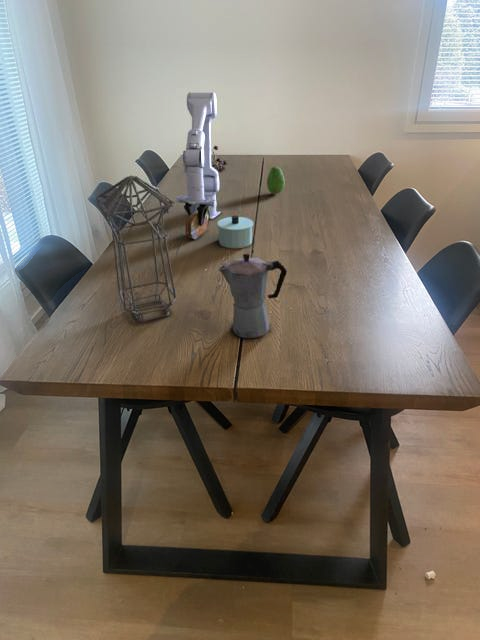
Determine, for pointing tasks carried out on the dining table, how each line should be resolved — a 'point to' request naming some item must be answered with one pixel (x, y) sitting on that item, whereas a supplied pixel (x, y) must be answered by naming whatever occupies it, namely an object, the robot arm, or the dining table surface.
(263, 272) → the moka pot
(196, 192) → the robot arm
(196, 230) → the tin
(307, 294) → the dining table surface
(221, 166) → the decorative branch
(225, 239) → the pot
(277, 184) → the avocado
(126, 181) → the geometric lantern
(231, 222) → the pot lid
